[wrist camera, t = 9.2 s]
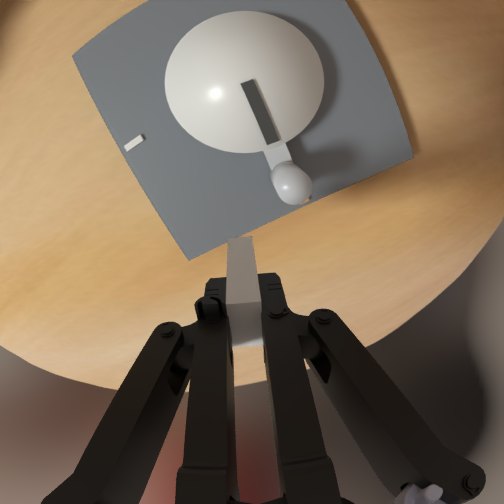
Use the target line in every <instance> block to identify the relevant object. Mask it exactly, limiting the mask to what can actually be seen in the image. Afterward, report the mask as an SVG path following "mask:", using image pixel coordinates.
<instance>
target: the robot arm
mask: <svg viewBox="0 0 504 504" xmlns="http://www.w3.org/2000/svg"><path fill="white" fill-rule="evenodd" d="M194 306H195V310H196V314H197V318H198V320H197V321H196V322H195V323H193V324H191V325H188V326H184V327H181V326H180V325H179V324H178V323H175V322H165V323H162V324H160V325H158V326H157V327H156V328H155V329H154V331H153V333H152V334H151V336H150V338H149V339H148V341H147V342H146V344H145V346H144V347H143V349H142V351H141V352H140V354H139V356H138V357H137V359H136V361H135V362H134V364H133V366H132V367H131V369H130V371H129V372H128V374H127V376H126V377H125V379H124V381H123V383H122V384H121V386H120V388H119V389H118V391H117V393H116V395H115V397H114V398H113V400H112V402H111V404H110V406H109V407H108V409H107V411H106V412H105V415H104V416H103V418H102V420H101V421H100V423H99V425H98V427H97V429H96V431H95V433H94V434H93V436H92V438H91V440H90V442H89V444H88V446H87V448H86V449H85V451H84V453H83V455H82V457H81V459H80V461H79V463H78V465H77V467H76V469H75V471H74V473H73V474H72V475H71V476H70V477H68V478H67V479H66V480H65V481H64V482H63V483H62V484H60V485H59V486H58V487H57V488H56V489H55V490H54V491H52V492H51V493H50V494H49V495H48V496H46V497H45V498H44V499H43V501H42V502H41V504H139V502H140V500H141V497H142V495H143V493H144V490H145V488H146V485H147V483H148V480H149V478H150V475H151V473H152V470H153V468H154V465H155V463H156V460H157V458H158V455H159V453H160V450H161V448H162V446H163V443H164V440H165V438H166V436H167V433H168V431H169V429H170V426H171V423H172V421H173V418H174V416H175V414H176V411H177V409H178V406H179V404H180V402H181V399H182V397H183V394H184V392H185V390H186V387H187V385H188V382H189V380H190V387H189V397H188V407H187V419H186V430H185V443H184V458H183V464H182V466H181V467H180V468H179V470H178V472H177V478H176V496H175V504H250V503H244V502H240V493H239V487H238V480H237V456H236V433H235V432H236V431H235V402H234V363H233V351H232V347H245V346H257V345H263V347H264V363H265V367H266V375H267V384H268V392H269V400H270V408H271V417H272V425H273V433H274V441H275V449H276V458H277V467H278V475H279V487H280V497H281V498H278V499H275V500H272V501H269V502H265V503H262V504H354V503H353V502H351V501H349V500H347V499H345V498H342V497H340V492H339V488H338V484H337V479H336V474H335V470H334V466H333V463H332V460H331V458H330V457H329V456H328V455H327V453H326V450H325V446H324V442H323V437H322V433H321V428H320V424H319V420H318V416H317V412H316V408H315V403H314V399H313V395H312V391H311V387H310V383H309V378H308V374H307V370H306V366H305V362H304V359H306V362H307V364H308V365H309V367H310V369H311V370H312V372H313V373H314V375H315V377H316V378H317V380H318V382H319V383H320V385H321V386H322V388H323V390H324V391H325V393H326V395H327V396H328V398H329V399H330V401H331V403H332V404H333V406H334V408H335V409H336V411H337V412H338V414H339V416H340V417H341V419H342V421H343V422H344V424H345V425H346V427H347V428H348V430H349V432H350V433H351V435H352V437H353V438H354V440H355V441H356V443H357V444H358V446H359V448H360V449H361V451H362V453H363V454H364V456H365V457H366V459H367V460H368V462H369V464H370V465H371V467H372V468H373V470H374V471H375V473H376V475H377V476H378V478H379V479H380V481H381V482H382V483H383V485H384V486H385V487H386V488H387V489H388V490H389V491H390V492H391V493H392V494H393V495H394V496H395V497H397V498H396V499H395V501H394V504H463V503H465V502H467V501H469V500H472V499H473V498H475V497H476V496H478V495H479V494H480V492H481V491H482V490H483V488H484V485H485V482H486V476H485V473H484V470H483V469H482V468H481V467H479V466H478V465H476V464H474V463H472V462H471V461H469V460H467V459H465V458H464V457H462V456H460V455H458V454H456V453H455V452H453V451H451V450H450V449H448V448H446V447H445V446H443V445H442V443H441V442H440V441H439V439H438V438H437V437H436V435H435V434H434V433H433V432H432V430H431V429H430V428H429V426H428V425H427V424H426V423H425V421H424V420H423V419H422V417H421V416H420V415H419V414H418V412H417V411H416V410H415V409H414V407H413V406H412V405H411V404H410V402H409V401H408V400H407V398H405V396H404V395H403V394H402V392H401V391H400V390H399V389H398V387H397V386H396V385H395V384H394V382H393V381H392V380H391V379H390V377H389V376H388V375H387V374H386V373H385V371H384V370H383V369H382V368H381V366H380V365H379V364H378V363H377V362H376V360H375V359H374V358H373V357H372V356H371V354H370V353H369V352H368V351H367V350H366V348H365V347H364V346H363V345H362V343H361V342H360V341H359V340H358V339H357V338H356V336H355V335H354V334H353V333H352V332H351V330H350V329H349V328H348V327H347V326H346V324H345V323H344V322H343V321H342V320H341V319H340V317H339V316H338V315H337V314H336V313H335V312H333V311H331V310H329V309H317V310H315V311H313V312H312V313H311V314H310V315H309V316H303V315H298V314H295V313H293V312H292V311H291V310H290V308H288V306H287V303H286V299H285V295H284V291H283V287H282V284H281V280H280V277H279V276H278V275H277V274H276V273H263V274H257V268H256V261H255V254H254V247H253V240H252V236H249V237H237V238H228V252H227V277H223V278H210V279H209V281H208V282H207V283H206V287H205V294H204V297H201V298H199V299H198V300H197V301H196V303H195V305H194Z"/></svg>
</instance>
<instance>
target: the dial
mask: <svg viewBox="0 0 504 504" xmlns="http://www.w3.org/2000/svg"><path fill="white" fill-rule="evenodd" d="M323 91H324V72H323V68H322V63H321V61H320V58H319V55H318V53H317V51H316V50H315V48H314V46H313V45H312V43H311V42H310V41H309V39H308V38H307V37H306V36H305V35H304V34H303V33H302V32H301V31H300V30H298V29H297V28H296V27H295V26H293V25H292V24H290V23H288V22H287V21H285V20H283V19H281V18H278V17H276V16H273V15H270V14H267V13H262V12H256V11H234V12H228V13H223V14H220V15H217V16H214V17H212V18H209V19H207V20H205V21H203V22H201V23H200V24H198V25H197V26H195V27H194V28H193V29H191V30H190V31H189V32H188V33H187V34H186V35H185V36H184V37H183V38H182V39H181V40H180V41H179V43H178V44H177V45H176V47H175V49H174V50H173V52H172V54H171V56H170V59H169V61H168V64H167V68H166V73H165V93H166V97H167V102H168V104H169V107H170V109H171V111H172V113H173V115H174V117H175V118H176V120H177V121H178V122H179V124H180V125H181V126H182V127H183V128H184V129H185V130H186V131H187V132H188V133H189V134H190V135H191V136H193V137H194V138H195V139H197V140H199V141H200V142H202V143H204V144H206V145H208V146H210V147H213V148H216V149H219V150H222V151H227V152H233V153H254V152H260V151H263V152H264V155H265V157H266V159H267V162H268V164H269V167H270V172H269V175H270V179H271V181H272V183H273V185H274V187H275V189H276V191H277V193H278V195H279V197H280V198H281V200H283V201H284V202H285V203H287V204H291V205H298V204H301V203H303V202H305V201H306V200H307V199H308V198H309V197H310V195H311V193H312V181H311V179H310V177H309V176H308V175H307V174H306V173H305V172H304V171H302V170H301V169H300V168H299V167H298V166H297V165H295V164H294V163H293V161H292V159H291V156H290V154H289V151H288V148H287V146H286V142H288V141H289V140H291V139H293V138H294V137H295V136H296V135H298V134H299V133H300V132H301V131H302V130H303V129H304V128H305V127H306V126H307V125H308V124H309V123H310V121H311V120H312V119H313V117H314V116H315V114H316V112H317V110H318V108H319V105H320V103H321V100H322V96H323Z"/></svg>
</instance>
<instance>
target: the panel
mask: <svg viewBox="0 0 504 504" xmlns="http://www.w3.org/2000/svg"><path fill="white" fill-rule="evenodd" d="M234 11H256V12H262V13H267V14H270V15H273V16H276V17H278V18H281V19H283V20H285V21H287V22H288V23H290V24H292V25H293V26H295V27H296V28H297V29H298V30H300V31H301V32H302V33H303V34H304V35H305V36H306V37H307V38H308V39H309V41H310V42H311V43H312V45H313V46H314V48H315V50H316V51H317V53H318V55H319V58H320V61H321V63H322V68H323V72H324V91H323V96H322V100H321V103H320V105H319V108H318V110H317V112H316V114H315V116H314V117H313V119H312V120H311V121H310V123H309V124H308V125H307V126H306V127H305V128H304V129H303V130H302V131H301V132H300V133H299V134H298V135H296V136H295V137H294V138H293V139H291V140H289V141H288V142H286V146H287V148H288V151H289V154H290V156H291V159H292V161H293V163H294V164H295V165H297V166H298V167H299V168H300V169H301V170H302V171H304V172H305V173H306V174H307V175H308V176H309V177H310V179H311V181H312V193H311V195H310V197H309V198H308V199H307V200H306V201H305V202H303V203H301V204H298V205H291V204H287V203H285V202H284V201H283V200H281V198H280V197H279V195H278V193H277V191H276V189H275V187H274V185H273V183H272V181H271V179H270V175H269V172H270V167H269V164H268V162H267V159H266V157H265V155H264V152H263V151H260V152H254V153H233V152H227V151H222V150H219V149H216V148H213V147H210V146H208V145H206V144H204V143H202V142H200V141H199V140H197V139H195V138H194V137H193V136H191V135H190V134H189V133H188V132H187V131H186V130H185V129H184V128H183V127H182V126H181V125H180V124H179V122H178V121H177V120H176V118H175V117H174V115H173V113H172V111H171V109H170V107H169V104H168V102H167V97H166V93H165V73H166V68H167V64H168V61H169V59H170V56H171V54H172V52H173V50H174V49H175V47H176V45H177V44H178V43H179V41H180V40H181V39H182V38H183V37H184V36H185V35H186V34H187V33H188V32H189V31H190V30H191V29H193V28H194V27H195V26H197V25H198V24H200V23H201V22H203V21H205V20H207V19H209V18H212V17H214V16H217V15H220V14H223V13H228V12H234ZM72 58H73V60H74V62H75V64H76V66H77V68H78V70H79V73H80V75H81V77H82V79H83V81H84V83H85V85H86V87H87V89H88V91H89V93H90V95H91V97H92V99H93V101H94V103H95V105H96V107H97V109H98V111H99V112H100V114H101V116H102V118H103V120H104V122H105V124H106V126H107V127H108V129H109V131H110V133H111V135H112V137H113V138H114V140H115V142H116V144H117V146H118V147H119V149H120V151H121V153H122V154H123V156H124V158H125V160H126V161H127V163H128V165H129V167H130V168H131V170H132V172H133V173H134V175H135V177H136V179H137V180H138V182H139V184H140V185H141V187H142V189H143V190H144V192H145V194H146V195H147V197H148V198H149V200H150V202H151V203H152V205H153V207H154V208H155V210H156V211H157V213H158V215H159V216H160V218H161V219H162V221H163V222H164V224H165V226H166V227H167V229H168V230H169V232H170V233H171V235H172V236H173V238H174V239H175V241H176V243H177V244H178V246H179V247H180V249H181V250H182V252H183V253H184V255H185V256H186V258H187V259H188V261H189V260H191V259H193V258H195V257H197V256H200V255H202V254H204V253H206V252H208V251H210V250H212V249H214V248H216V247H218V246H220V245H222V244H224V243H227V242H228V238H237V237H239V236H241V235H243V234H245V233H248V232H250V231H252V230H254V229H256V228H258V227H260V226H262V225H265V224H267V223H269V222H271V221H273V220H275V219H277V218H280V217H282V216H284V215H286V214H288V213H290V212H293V211H295V210H297V209H299V208H301V207H303V206H306V205H308V204H310V203H312V202H314V201H317V200H319V199H321V198H323V197H325V196H328V195H330V194H332V193H334V192H337V191H339V190H341V189H343V188H346V187H348V186H350V185H352V184H354V183H357V182H359V181H361V180H364V179H366V178H368V177H370V176H373V175H375V174H377V173H379V172H382V171H384V170H386V169H389V168H391V167H393V166H396V165H398V164H400V163H403V162H405V161H407V160H410V159H412V158H414V155H413V151H412V148H411V144H410V141H409V138H408V134H407V131H406V128H405V125H404V122H403V119H402V116H401V113H400V110H399V108H398V105H397V102H396V100H395V97H394V95H393V92H392V90H391V87H390V85H389V82H388V80H387V78H386V75H385V73H384V71H383V69H382V66H381V64H380V62H379V60H378V58H377V56H376V54H375V52H374V50H373V48H372V46H371V44H370V42H369V40H368V38H367V36H366V34H365V33H364V31H363V29H362V27H361V25H360V24H359V22H358V20H357V19H356V17H355V15H354V14H353V12H352V10H351V9H350V7H349V6H348V4H347V2H346V1H345V0H148V1H147V2H145V3H143V4H142V5H140V6H138V7H137V8H135V9H133V10H132V11H130V12H129V13H127V14H126V15H124V16H123V17H121V18H120V19H118V20H117V21H115V22H114V23H112V24H111V25H110V26H108V27H107V28H105V29H104V30H103V31H101V32H100V33H99V34H97V35H96V36H95V37H94V38H92V39H91V40H90V41H89V42H87V43H86V44H85V45H84V46H83V47H81V48H80V49H79V50H78V51H77V52H76V53H74V54H73V55H72Z"/></svg>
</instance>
